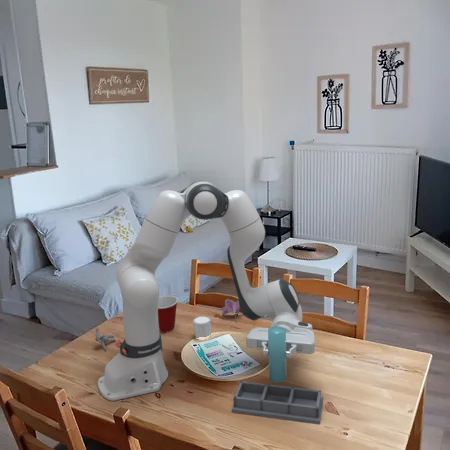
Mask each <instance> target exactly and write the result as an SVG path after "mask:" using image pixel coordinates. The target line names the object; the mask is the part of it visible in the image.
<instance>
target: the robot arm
mask: <svg viewBox="0 0 450 450" xmlns="http://www.w3.org/2000/svg"><path fill="white" fill-rule="evenodd" d="M190 216H193V217H195V218H196V219H198V220H203V221H205V220H206V221H209V220H214V219H221V221H222V222H223V224H224V226H225V228H226V230H227V233H228V235H229V240H230V241H229V242H230V244H229V246H228V248H227V249H226V255H227V261H228V265H229V269H230V272H231V276H232V279H233V283H234V287H235V291H236V294H237V298H238V299H237V301H238V300H239V305H240V308H239V310H240V312H241V314H242V315H243V317H244V318H247V319H249V320H251V321H253V322H254V321H257V320H260V319H262V318H265V316H266V317H267V316H269V315H272V314H275V315H274V318H273V320H272V322H271V324H270V327H269V328H271V327H275V326H279V327H283V328H285V329H286V353H285V354H286V359H287V358H288V359H291V358H292V356H294V355H295V354H297V353H298V354H307V355H312V354H314V353H315V352H316V340H315V339H316V336H315V333H314V331H313V324H311V323H307V322H303V311H302V310H303V309H302V306H301V304H300V298H299V295H298V293H297V290H296V288H295V287H294V285H293V284H292V283H290V281H289V282H288V280H285V279H283V278H280V279H277V280H274V281H270V282H268V283H265V284H263V285H259V286H257V287H252V286H251V284H250V282H249V278H248V274H247V271H246V268H245V262H246V260H247V259H248V258H249V257H250V256H251V255H253V254H254V253H255V252H256V251H257V250H258V249H259V248H260V246H261V245H262V243H263V242H264V240H265V237H266V229H265V226H264V223H263V221H262V219H261V217H260V214H259V212H258V210H257V209H256V207H255V205H254V203H253V202H252V200H251V199H250V197H249V196H248V194H247V193H246V192H245V191H243V190H242V189H241V190H240V189H233V190H230V191H228V192H224V191H223V192H222V190H220V189H219V188H218V187H217V186H216V185H215V184H213V183H212V182H209V181H207V180H197V181H194V182H193V183H190V185H188V186H187V187H185V188H184V189H183V190H181V191H180V192H178V191H176V190H171V189H170V190H168V189H165V190H162V191H161V192H160V193H159V194H158V195H157V196H156V197H155V200H154V202H153V203H152V204H151V206H150V207H149V210H148V212H147V214H146V216H145V218H144V220H143V223H142V225H141V227H140V229H139V232H138V234H137V236H136V238H135V240H134V242H133V244H132V246H131V247H130V249H129V250H128V252H127V253H126V255H125V256H124V258H123V259H122V260H121V261H120V263H119V264H118V267H117V270H116V276H115V277H116V282H117V284H118V286H119V289H120V293H121V297H122V298H121V301H122V324H123V333H124V335H123V336H124V339H123V341H121V340H120V339H116V341H114V345H115V346H116V348H119V352H117V354H116V355H115V356H114V357H113V358H112V359H111V360H110V361H109V362H108V363H106V365H105V367H104V372H103V373H104V375H103V376H101V377H99V379H98V380H97V389H98V391H99V393H100V395H101V396H102V397H103V398H105V399H107V400H108V401H112V402H114V401H119V400H123V399H128V398H131V397H132V398H133V397H137V396H140V395H145V394H150V393H153V392H158V391H159V390H160V389H161V387H162V384H163V383H165V382H166V380H167V379H168V377H169V371H168V369H167V367H166V364H165V360H164V356H163V352H162V351H163V340H162V339H163V338H162V335H161V334H160V329H159V322H158V303H159V297H160V295H159V294H160V287H159V282H158V279H157V278H156V276H155V274H156V271H157V269H158V267H159V266H160V265H161V263H162V262H163V261H164V259H165V258H167V257H168V256H169V255H170V252H171V250H172V248H173V246H174V244H175V241H176V239H177V237H178V235H179V232H180V230H181V228H182V225H183V223H184V222H185V220H186V219H187V218H189V217H190ZM269 328H268V327H260V326H259V327H253V328H252V329H250V330H249V332H248V334H247V336H246V338H245V339H246V343H245V344H246V347H247V348H249V349H257V350H261V351H262V355H263V356H269V353H268V329H269Z"/></svg>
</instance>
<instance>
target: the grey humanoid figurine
mask: <svg viewBox="0 0 450 450" xmlns="http://www.w3.org/2000/svg"><path fill="white" fill-rule="evenodd" d="M99 330H100V328H98V327H95V332H96V333H95V339H94V340H95V341H96V342H98V343H99V344H100V345H101V346H102V348H103V350H104V352H107V351H108V350H107V348H108V347H106V345H105V344H107V343H109V342H116V340H117V337H115V334H107V335H106V334H104V333H102V334H100V332H99Z"/></svg>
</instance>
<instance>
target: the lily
mask: <svg viewBox="0 0 450 450" xmlns="http://www.w3.org/2000/svg"><path fill="white" fill-rule="evenodd" d="M217 311H222V314H221V316H225V315H227V314H229V313H233V315H234V318H235V322H236V323H238V320H237V317H236V314H239V313H240V305H239V300H238V299H237V300H236V301H234V300H233V299H228V298H227V299H225V301H224V306H222V307H221V308H218V309H217Z"/></svg>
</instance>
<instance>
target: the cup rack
mask: <svg viewBox="0 0 450 450" xmlns="http://www.w3.org/2000/svg"><path fill="white" fill-rule="evenodd" d="M323 402H324V397H323V396H322V390H319V389H310V388H302V387H293V386H284V385H276V384H268V383H262V382H261V383H259V382H253V381H252V382H250V381H243V380H240V381H239V384H238V386H237V389H236V391H235V393H234V396H233V405H232V406H231V413H235V414H241V415H242V414H243V415H250V416H257V417H265V418H271V419H279V420H287V421H293V422H301V423H310V424H317V425H320V424H321V417H322V412H323V411H322V409H323Z"/></svg>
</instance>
